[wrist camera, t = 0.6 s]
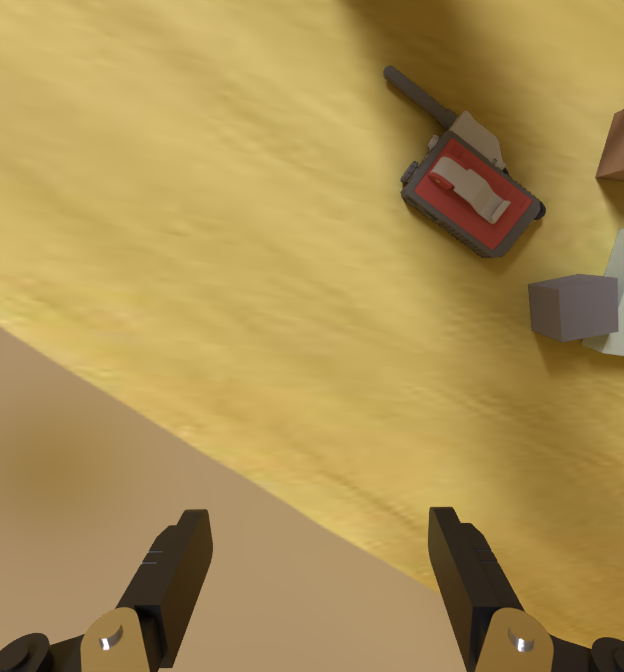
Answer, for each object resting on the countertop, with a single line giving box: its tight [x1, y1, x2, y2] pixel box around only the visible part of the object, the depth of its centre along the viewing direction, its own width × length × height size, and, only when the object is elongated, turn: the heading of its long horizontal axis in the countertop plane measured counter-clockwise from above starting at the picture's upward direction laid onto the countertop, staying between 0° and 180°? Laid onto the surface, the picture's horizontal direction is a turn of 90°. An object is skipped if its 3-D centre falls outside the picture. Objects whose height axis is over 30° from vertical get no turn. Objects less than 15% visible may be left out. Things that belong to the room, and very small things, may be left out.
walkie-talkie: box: [384, 65, 546, 258], centre depth 32 cm, size 9×4×20 cm
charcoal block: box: [528, 274, 619, 342], centre depth 34 cm, size 5×5×5 cm
